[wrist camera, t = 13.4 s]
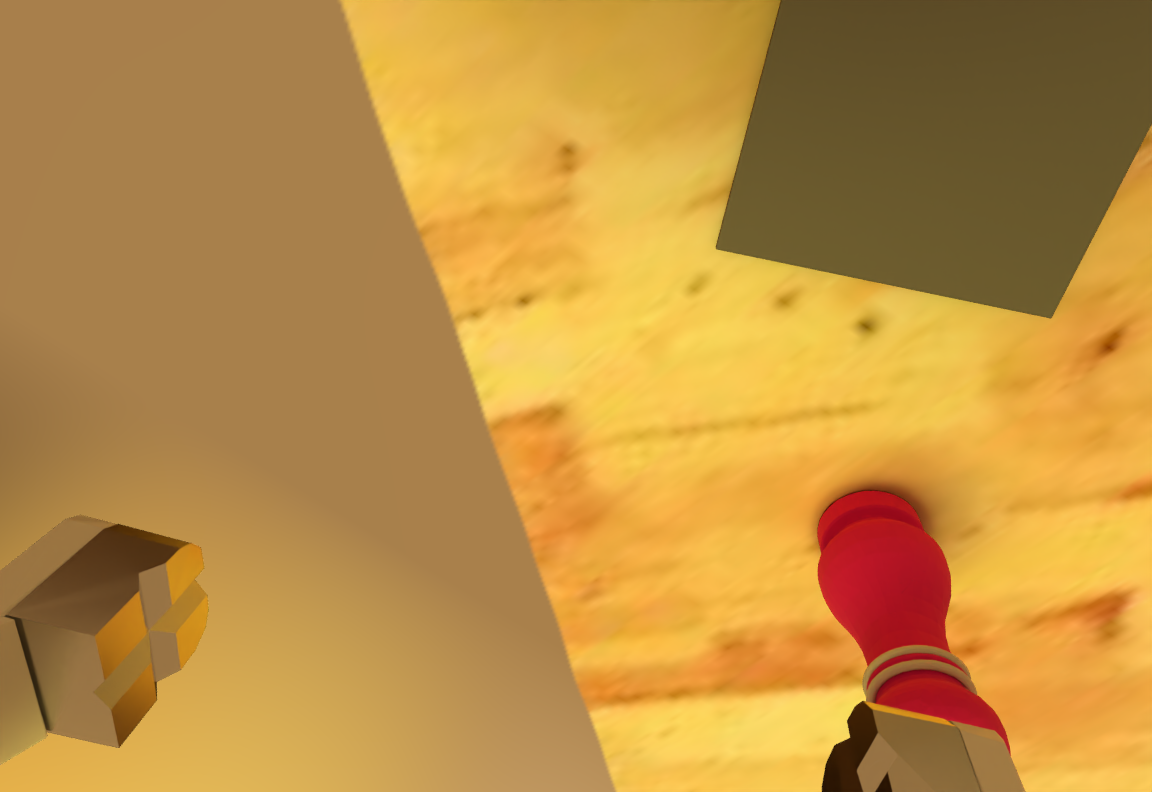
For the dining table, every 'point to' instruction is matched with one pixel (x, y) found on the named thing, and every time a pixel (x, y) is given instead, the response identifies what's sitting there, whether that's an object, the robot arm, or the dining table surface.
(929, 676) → the pepper mill
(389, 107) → the dining table surface
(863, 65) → the rubber mat
